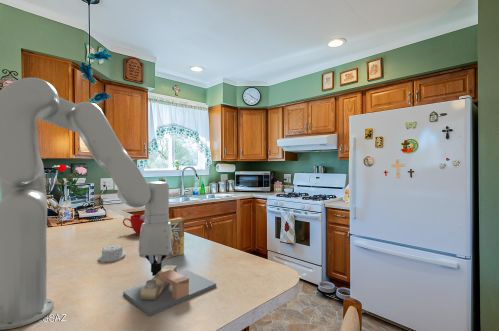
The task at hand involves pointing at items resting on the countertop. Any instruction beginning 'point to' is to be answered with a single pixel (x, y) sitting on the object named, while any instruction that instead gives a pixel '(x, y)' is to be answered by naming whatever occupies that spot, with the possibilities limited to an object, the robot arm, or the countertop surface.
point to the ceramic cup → (135, 222)
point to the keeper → (176, 283)
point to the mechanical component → (112, 254)
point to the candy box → (177, 236)
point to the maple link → (155, 284)
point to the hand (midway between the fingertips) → (156, 274)
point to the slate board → (168, 294)
